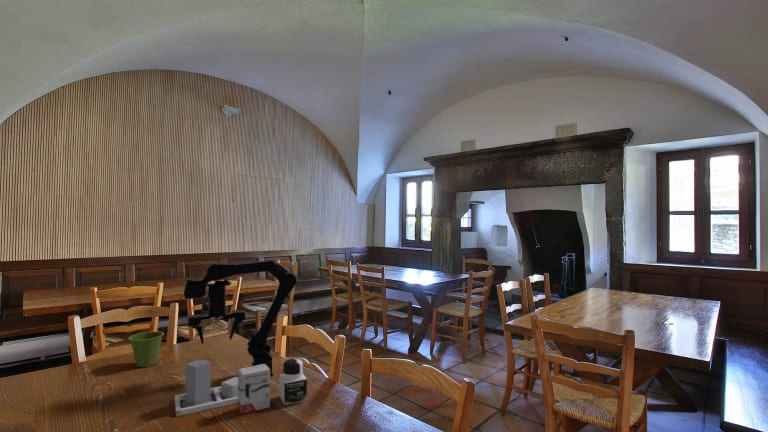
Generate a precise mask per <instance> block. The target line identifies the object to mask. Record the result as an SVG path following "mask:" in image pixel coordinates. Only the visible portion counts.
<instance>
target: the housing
mask: <svg viewBox="0 0 768 432" xmlns="http://www.w3.org/2000/svg"><path fill="white" fill-rule="evenodd" d="M220 393H221V386H214V387H210V401H208V402H206V403H204V404H200V405H196V406H191V405H189V404H186V392H184V393H179V394H175V395H174V406H175V407H174V409H175V416H176V418H177V417H180V416H185V415H186V416H187V415H190V414H195V413H199V412H203V411H208V410H213V409H219V408H221V407H226V406H231V405H235V404H238V397H233V398H229V399H225V398H222V397H221V394H220ZM212 395H213V396H212ZM181 401H182V403H181Z"/></svg>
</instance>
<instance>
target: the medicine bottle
mask: <svg viewBox="0 0 768 432" xmlns="http://www.w3.org/2000/svg"><path fill="white" fill-rule="evenodd" d="M303 365H304V362H303V361H302V359H298V358H290V359H287V360H285V361H284V362H283V367H282V368H283V371H282V372H283V373H280V374H279V377H278V378H279V382H278V383H279V385H278V386H279V389H278V390H279V392H278V393H279V396H278V397H279V398H280V400H281V402H282V404H283V405H284V406H288V405H293V404H298V403H302V402H306V401H307V400H308V399H307V398H308V393H307V392H308V378H307V377H306V376H305V374H304V371H303V370H304V369H303V368H304V367H303Z"/></svg>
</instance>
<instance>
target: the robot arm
mask: <svg viewBox="0 0 768 432" xmlns="http://www.w3.org/2000/svg"><path fill="white" fill-rule="evenodd" d="M263 272H268V273H270V274H271V275H272V276H273V277H274V278H275V279H276V280H278V281H279V284H278V288H277V291H276V294H275V296H274V298H273V300H272V302H271V305H270V307H269V308H268V311H267V313H266V315H265V318H264V319H263V321H262V324H261V326H260V327H259V329H258V330H256V329H253V330H252V333H251V335H250V336H251V337H250V338H249V339H248V342H247V344H246V345H247V353H248V354H249V356H252V362H251V364H250V365H251V366H256V365H261V364H266V365H267V366H268V367H269V368H270V377H273V376H274V372H273V356H271V353H272V347H271V346H270V345H269V344H268V343H267V341H268V338H269V334H270V332H271V329H272V327H273V326H274V324H275V321H276V320H277V317H278V314H279V312H280V311H281V309H282V306H283V305H284V302H285V299H286V298H287V297H288V295H289V294H290V293H291V292H292V290H293V289H294V287H295V286H296V284H297V274H296V273H295V272H294V271H290V270H288V269H286V268H284V267H283V266H282V265H280V264H279V263H277V262H276V260H273V259H268V260H261V261H259V260H258V261H249V262H241V263H231V262H220V261H218V262H215V263H213V264H210V266H208V268H207V270H206V275H205V276H204V277H203V278H202V279H187V280H186V281H185V282H186V283H185V287H184V291H183V296H184V299H185V300H199V299H204V298H205V297H207V296H208V297H207V302H203V303H201V313H206V315H205V316H204V315H203V316H201V314H200V313H198V314H189V315H187V317H186V321H187V322H186V323H187V327H191V328H192V329H195V330H196V332H197V334H198V336H199V340H200V343H201V344H202V345H204V333H203V326H202V324H201V323H204V322H205V323H206V322H214V321H221V320H222V321H223V320H230V327H229V334H228V335H229V336H228V337H229V341H232V338H233V336H234V333H235V331H236V330H237V328H238V326H239V324H241V323H242V321H245V320H246V313H245V312H244V310H243V309H236V310H235V309H233V310H231V312H230V313H226V303H227V302H226V287H229V286H230V285H232V281H230V280H229V279H228V278H229V277H232V276H236V275H244V274H253V273H254V274H255V273H263ZM222 279H223V280H222ZM212 281H214V283H213V282H212ZM211 282H212V283H211ZM251 366H250V367H251Z"/></svg>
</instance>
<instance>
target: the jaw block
mask: <svg viewBox="0 0 768 432" xmlns="http://www.w3.org/2000/svg"><path fill="white" fill-rule="evenodd" d="M211 366H212V363H211V361H209V360H205V359H203V358H199V359H196V360H194V361H190V362H187V363H185V393H186V399H185V400H186V404H189V405H191V406H196V405H200V404H204V403H206V402H208V401H210V396H211V394H210V388H211V377H212V376H211Z"/></svg>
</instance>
